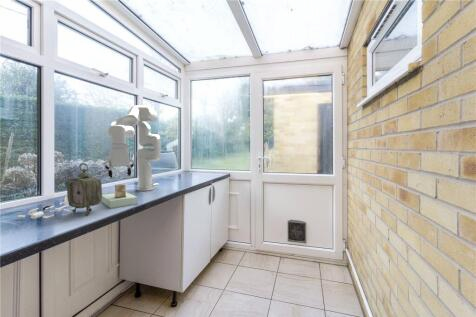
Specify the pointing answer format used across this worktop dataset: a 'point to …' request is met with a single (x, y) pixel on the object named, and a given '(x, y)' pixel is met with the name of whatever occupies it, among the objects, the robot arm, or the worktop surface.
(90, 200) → the tabletop clock
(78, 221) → the worktop surface
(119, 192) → the oak post
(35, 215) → the miniature set
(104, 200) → the board
